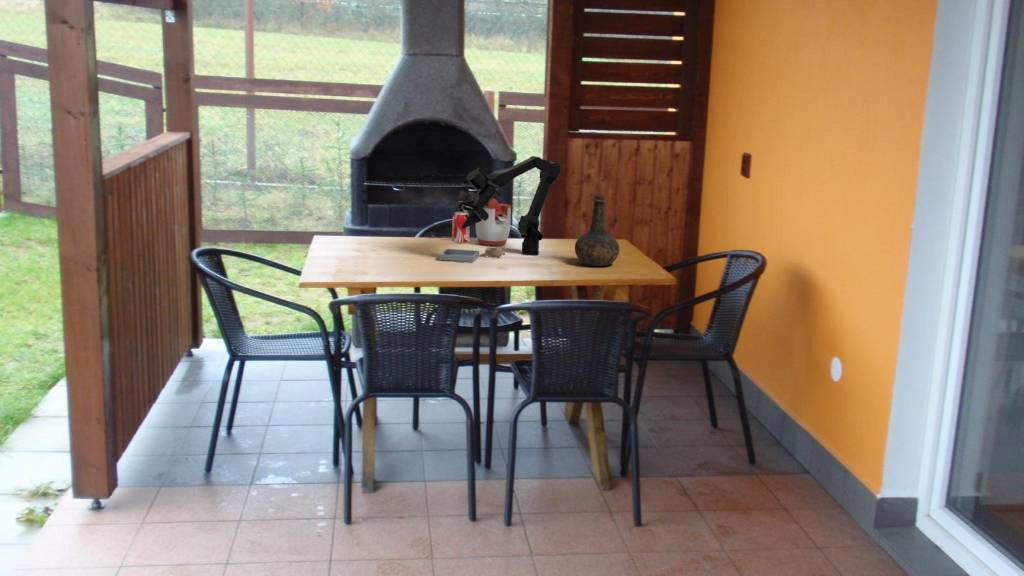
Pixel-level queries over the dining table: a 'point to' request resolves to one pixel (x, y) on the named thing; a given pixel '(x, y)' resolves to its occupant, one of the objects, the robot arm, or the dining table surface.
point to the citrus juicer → (494, 224)
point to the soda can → (460, 228)
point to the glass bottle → (597, 239)
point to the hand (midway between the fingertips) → (458, 226)
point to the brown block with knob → (494, 252)
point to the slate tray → (459, 255)
